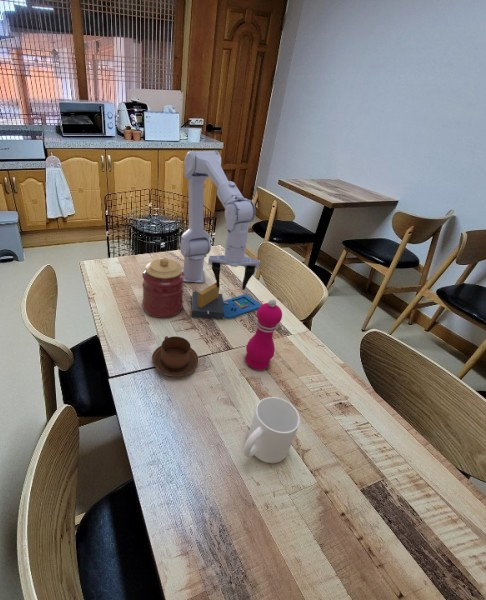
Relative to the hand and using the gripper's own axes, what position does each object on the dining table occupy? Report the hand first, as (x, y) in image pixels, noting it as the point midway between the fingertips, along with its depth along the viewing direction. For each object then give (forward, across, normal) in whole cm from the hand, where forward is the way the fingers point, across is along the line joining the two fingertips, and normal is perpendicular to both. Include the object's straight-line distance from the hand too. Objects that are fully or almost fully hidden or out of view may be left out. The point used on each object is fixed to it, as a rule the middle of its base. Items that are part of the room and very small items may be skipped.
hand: (230, 287), depth 102 cm
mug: (+14, +8, -45) cm, 48 cm away
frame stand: (+10, -7, +3) cm, 12 cm away
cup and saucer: (+12, -13, -24) cm, 30 cm away
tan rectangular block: (+8, -7, +3) cm, 10 cm away
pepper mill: (+12, +8, -19) cm, 24 cm away
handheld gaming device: (+11, +3, +6) cm, 12 cm away
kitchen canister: (+10, -21, +1) cm, 23 cm away
